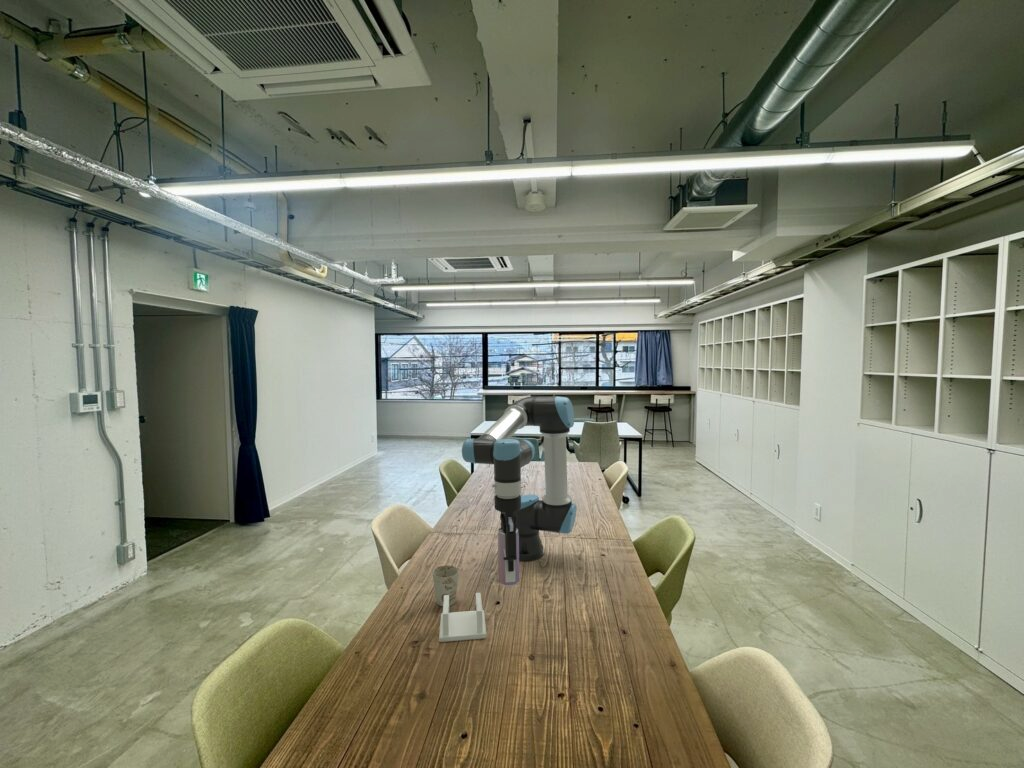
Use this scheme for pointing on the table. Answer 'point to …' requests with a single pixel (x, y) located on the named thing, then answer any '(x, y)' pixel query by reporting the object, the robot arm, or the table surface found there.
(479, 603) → the holder
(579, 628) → the table surface
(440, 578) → the mug
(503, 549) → the beverage can
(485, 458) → the robot arm
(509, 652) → the table surface
